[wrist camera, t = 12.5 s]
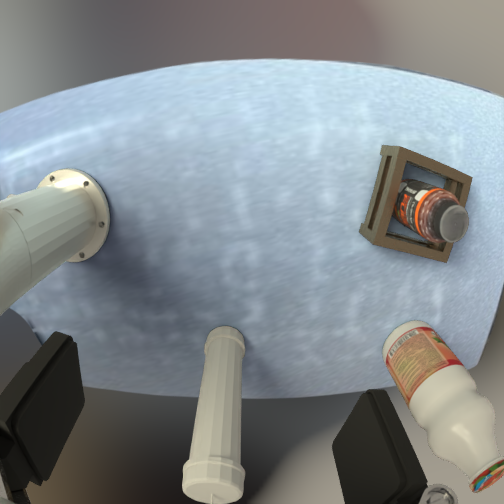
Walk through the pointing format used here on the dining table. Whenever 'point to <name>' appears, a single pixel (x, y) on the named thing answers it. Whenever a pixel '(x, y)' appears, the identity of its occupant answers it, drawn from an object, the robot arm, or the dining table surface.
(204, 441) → the pipe
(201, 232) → the dining table surface
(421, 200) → the supplement bottle
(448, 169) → the collar stand
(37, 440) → the robot arm
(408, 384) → the fruit juice
